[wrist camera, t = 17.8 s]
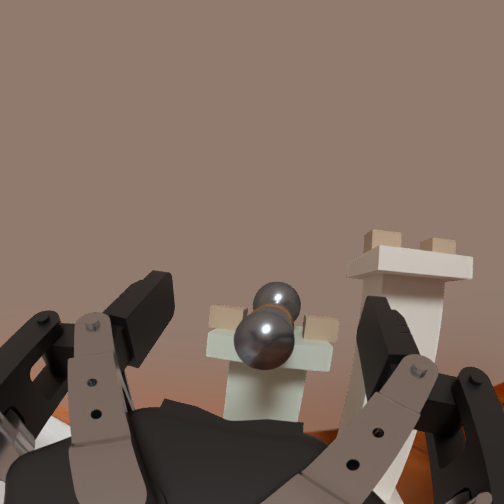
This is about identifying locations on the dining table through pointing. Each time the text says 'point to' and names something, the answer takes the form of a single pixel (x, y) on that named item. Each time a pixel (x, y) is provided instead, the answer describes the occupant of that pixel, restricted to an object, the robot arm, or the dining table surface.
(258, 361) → the grey bulb-ended bar
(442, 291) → the tall stand
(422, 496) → the dining table surface
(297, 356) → the low stand
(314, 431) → the dining table surface
